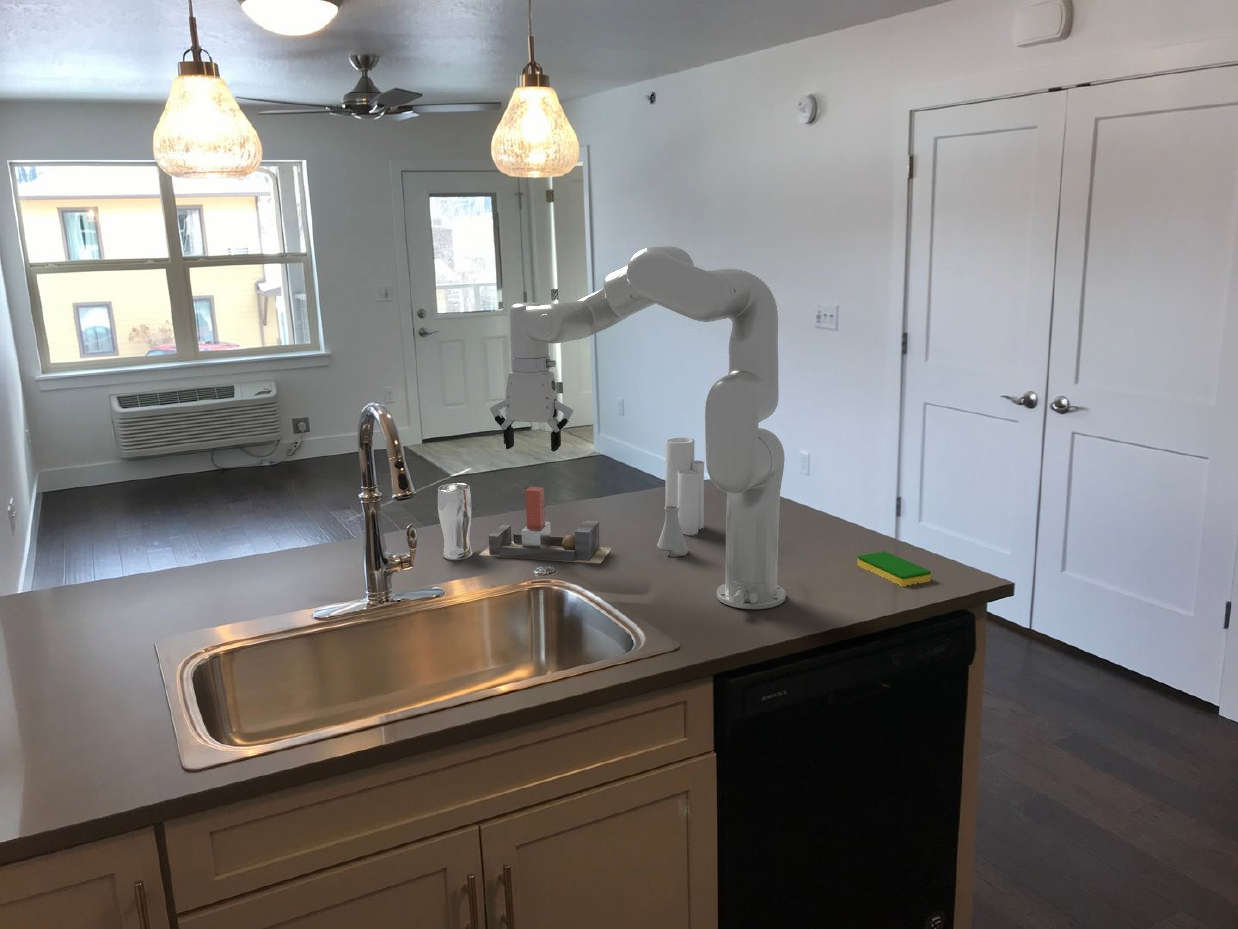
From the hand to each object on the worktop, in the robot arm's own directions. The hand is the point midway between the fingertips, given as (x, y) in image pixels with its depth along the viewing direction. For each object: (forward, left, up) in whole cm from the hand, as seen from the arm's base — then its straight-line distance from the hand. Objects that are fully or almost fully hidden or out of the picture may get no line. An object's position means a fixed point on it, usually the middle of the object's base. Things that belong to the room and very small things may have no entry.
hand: (532, 448), depth 196 cm
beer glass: (-2, +17, -24) cm, 29 cm away
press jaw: (0, 0, -21) cm, 21 cm away
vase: (+27, -27, -24) cm, 45 cm away
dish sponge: (+5, -72, -24) cm, 76 cm away
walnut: (0, -8, -22) cm, 23 cm away
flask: (+9, -27, -24) cm, 37 cm away
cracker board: (0, -2, -23) cm, 23 cm away
